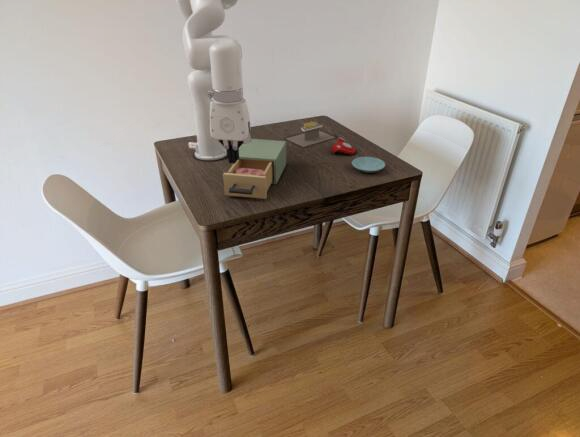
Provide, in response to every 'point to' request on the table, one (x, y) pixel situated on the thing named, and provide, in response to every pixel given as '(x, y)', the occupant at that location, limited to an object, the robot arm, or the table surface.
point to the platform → (310, 135)
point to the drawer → (249, 179)
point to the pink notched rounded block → (249, 171)
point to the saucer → (368, 164)
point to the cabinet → (266, 154)
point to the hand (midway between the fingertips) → (233, 161)
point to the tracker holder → (343, 147)
